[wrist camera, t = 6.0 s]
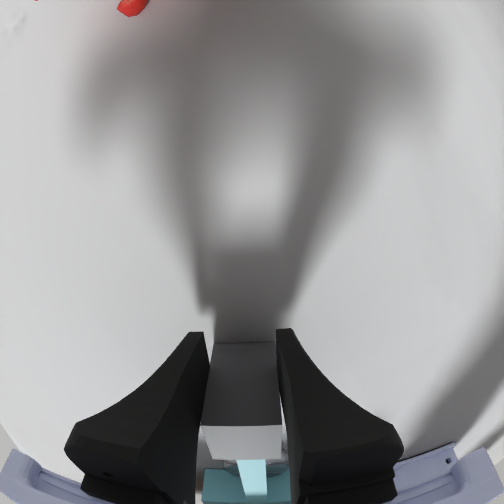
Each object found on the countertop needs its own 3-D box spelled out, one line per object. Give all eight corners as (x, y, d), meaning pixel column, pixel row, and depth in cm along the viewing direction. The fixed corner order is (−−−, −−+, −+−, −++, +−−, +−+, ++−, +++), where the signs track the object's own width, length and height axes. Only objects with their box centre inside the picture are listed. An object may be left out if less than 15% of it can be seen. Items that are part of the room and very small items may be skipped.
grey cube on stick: (334, 336, 14) (361, 414, 9) (308, 470, 20) (314, 516, 15) (156, 342, 14) (127, 418, 9) (207, 473, 20) (202, 519, 15)
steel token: (289, 440, 18) (291, 453, 17) (285, 466, 20) (286, 477, 19) (221, 441, 18) (220, 454, 17) (227, 467, 20) (226, 478, 19)
